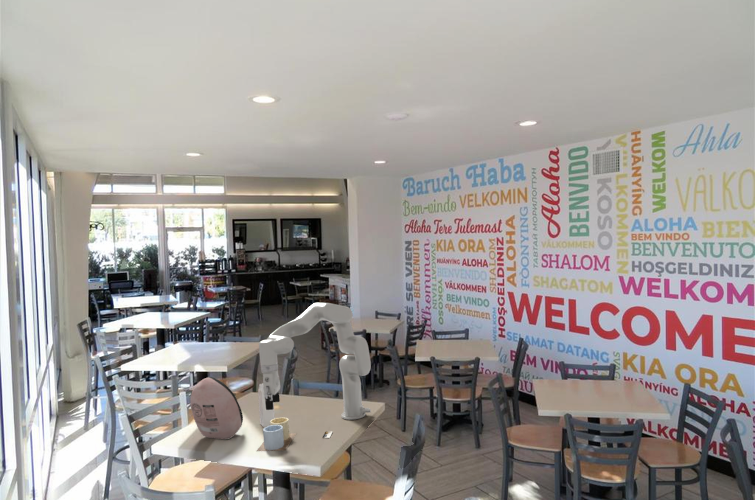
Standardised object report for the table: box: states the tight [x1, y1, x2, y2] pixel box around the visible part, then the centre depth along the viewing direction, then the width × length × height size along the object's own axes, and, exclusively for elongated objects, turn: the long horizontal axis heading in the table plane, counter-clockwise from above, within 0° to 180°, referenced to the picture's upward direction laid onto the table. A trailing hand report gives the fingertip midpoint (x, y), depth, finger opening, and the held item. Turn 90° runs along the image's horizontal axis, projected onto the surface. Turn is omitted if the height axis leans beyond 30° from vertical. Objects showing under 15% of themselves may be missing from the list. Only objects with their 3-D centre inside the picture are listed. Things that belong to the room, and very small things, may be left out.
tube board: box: [256, 430, 333, 452], centre depth 233 cm, size 30×24×1 cm
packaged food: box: [189, 376, 244, 440], centre depth 244 cm, size 22×20×30 cm
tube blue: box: [262, 425, 284, 450], centre depth 226 cm, size 8×8×8 cm
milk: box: [257, 382, 276, 428], centre depth 256 cm, size 6×6×22 cm
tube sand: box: [270, 416, 291, 440], centre depth 236 cm, size 8×8×8 cm
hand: (273, 405), depth 227 cm, fingers open, 9 cm apart
